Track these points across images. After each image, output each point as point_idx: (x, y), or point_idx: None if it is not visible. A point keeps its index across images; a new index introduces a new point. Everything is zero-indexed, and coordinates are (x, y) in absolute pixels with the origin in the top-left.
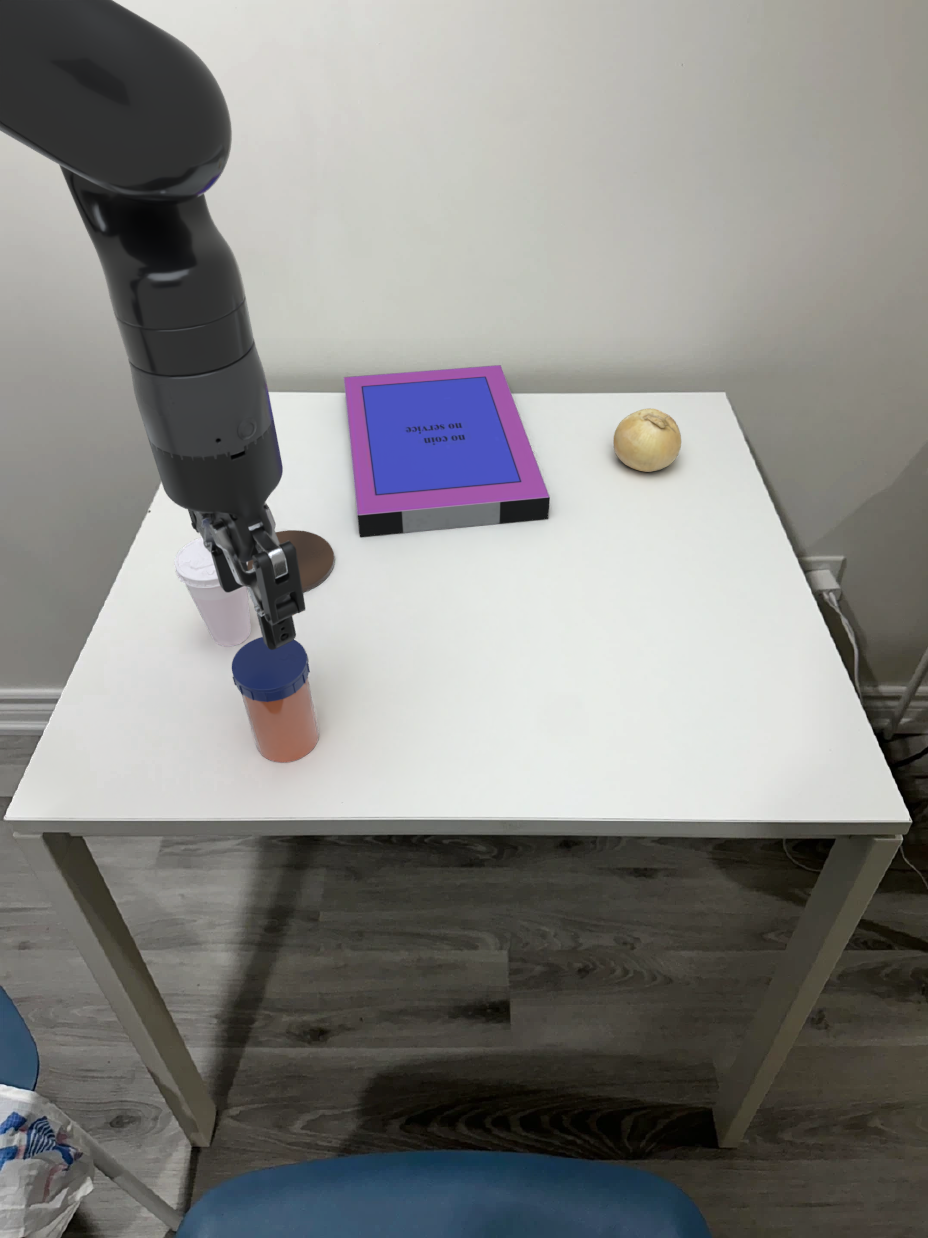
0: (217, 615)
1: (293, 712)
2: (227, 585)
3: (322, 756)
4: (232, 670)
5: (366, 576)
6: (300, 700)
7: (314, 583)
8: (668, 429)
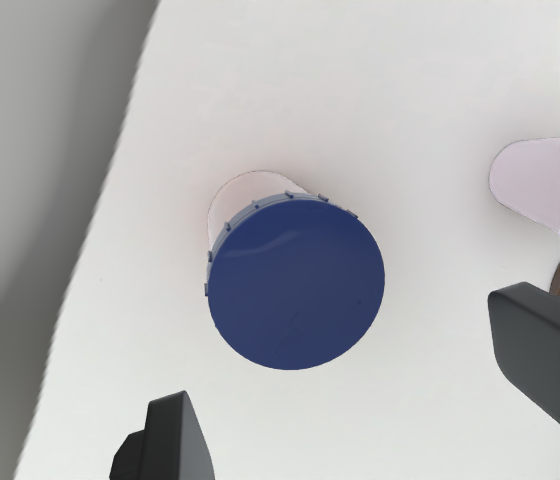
0: (543, 171)
1: None
2: (507, 313)
3: (202, 268)
4: (303, 201)
5: None
6: None
7: None
8: None
